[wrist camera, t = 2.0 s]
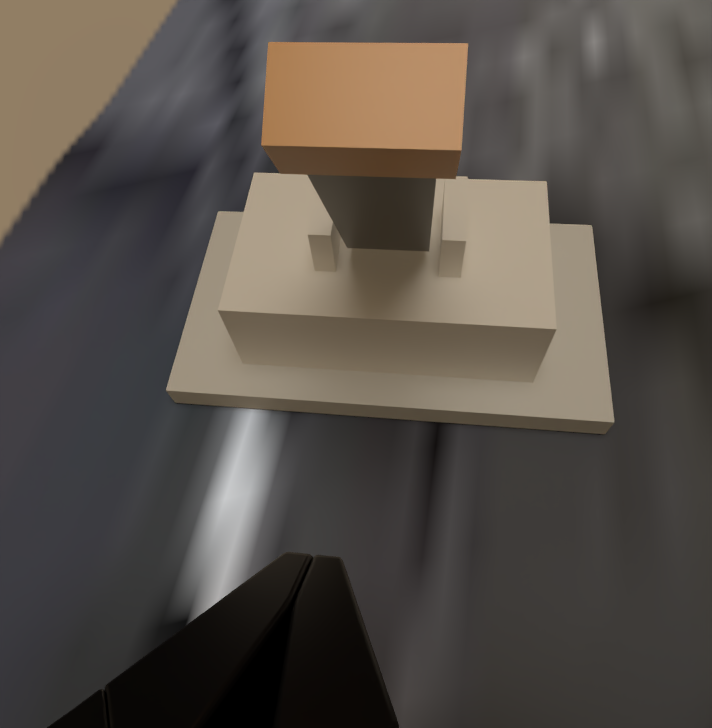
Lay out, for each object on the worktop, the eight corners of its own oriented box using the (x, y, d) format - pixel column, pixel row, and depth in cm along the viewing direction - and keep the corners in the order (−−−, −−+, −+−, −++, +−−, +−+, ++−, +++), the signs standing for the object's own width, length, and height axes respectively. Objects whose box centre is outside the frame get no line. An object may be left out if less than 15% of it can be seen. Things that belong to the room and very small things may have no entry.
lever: (439, 260, 21) (461, 150, 11) (335, 255, 22) (261, 145, 11) (443, 205, 21) (468, 43, 11) (339, 201, 22) (268, 42, 11)
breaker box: (604, 434, 24) (680, 341, 17) (175, 402, 25) (102, 308, 19) (584, 242, 28) (638, 114, 22) (224, 227, 30) (179, 106, 24)
